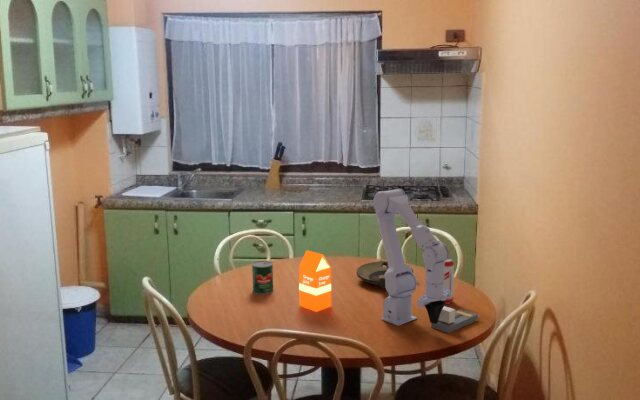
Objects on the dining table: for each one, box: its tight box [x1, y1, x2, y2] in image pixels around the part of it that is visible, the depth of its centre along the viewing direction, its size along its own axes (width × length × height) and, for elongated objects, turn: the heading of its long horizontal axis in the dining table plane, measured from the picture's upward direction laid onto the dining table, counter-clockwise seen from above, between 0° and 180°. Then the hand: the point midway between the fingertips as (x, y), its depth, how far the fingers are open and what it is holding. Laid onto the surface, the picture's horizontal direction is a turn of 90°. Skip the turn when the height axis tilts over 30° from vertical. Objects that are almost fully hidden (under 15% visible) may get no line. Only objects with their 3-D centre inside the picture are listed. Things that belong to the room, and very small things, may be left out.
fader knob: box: [439, 305, 456, 323], centre depth 204 cm, size 3×5×4 cm, turn 42°
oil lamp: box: [356, 260, 414, 289], centre depth 249 cm, size 22×30×8 cm
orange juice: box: [298, 250, 332, 313], centre depth 223 cm, size 8×9×20 cm
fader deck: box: [430, 308, 479, 334], centre depth 208 cm, size 16×7×2 cm, turn 132°
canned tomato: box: [251, 260, 274, 296], centre depth 241 cm, size 8×8×11 cm
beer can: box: [443, 257, 455, 305], centre depth 226 cm, size 6×6×16 cm
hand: (433, 322), depth 200 cm, fingers closed
